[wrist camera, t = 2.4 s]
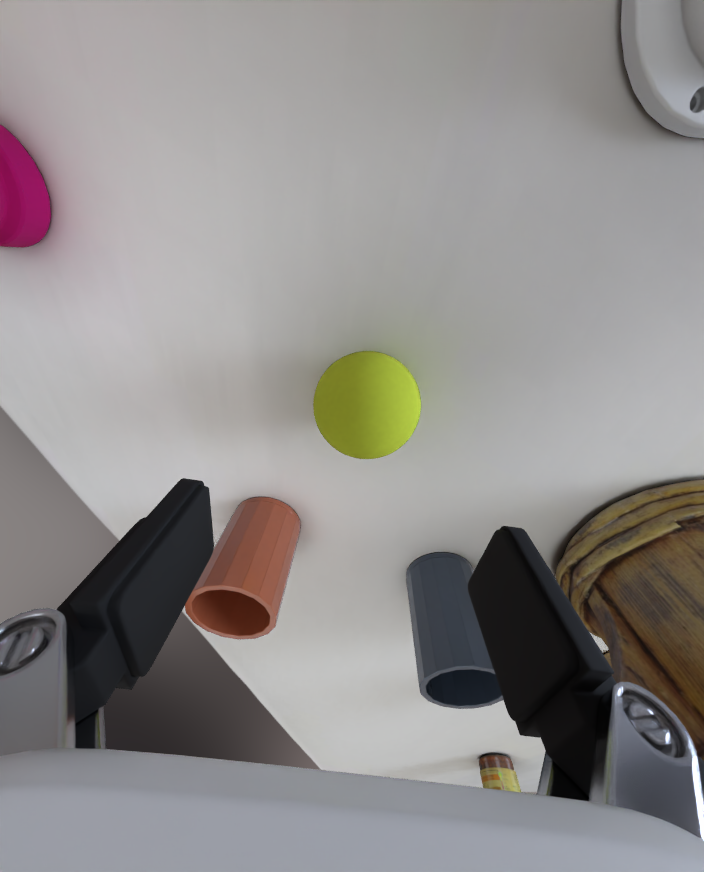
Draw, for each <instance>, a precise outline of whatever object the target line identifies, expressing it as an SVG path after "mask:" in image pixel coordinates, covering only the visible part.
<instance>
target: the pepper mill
mask: <svg viewBox="0 0 704 872" xmlns="http://www.w3.org/2000/svg"><path fill="white" fill-rule="evenodd" d="M50 219H51V210H50V199H49V195H48V192H47V189H46V186H45V183H44V180H43V178H42V176H41V174H40V172H39V170H38V168H37V166H36V164H35V162H34V161H33V159H32V158H31V157H30V155H29V154H28V153H27V151H26V150H25V149H24V147H23V146H22V144H21V143H20V142H19V141H18V140H17V139H16V138H15V137H14V136H13V135H12V134H11V133H10V132H9V131H8V130H7V129H6V128H4V127H3V126H2V125H0V246H5V247H29V246H32V245H34V244H36V243H38V242H39V241H40V240H41V239H42V238H43V237H44V236H45V234H46V232H47V230H48V228H49V224H50Z"/></svg>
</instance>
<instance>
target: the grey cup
mask: <svg viewBox="0 0 704 872" xmlns="http://www.w3.org/2000/svg"><path fill="white" fill-rule="evenodd" d="M473 572H474V571H473V568H472V566H471V564H470V563H469V562H468V561H467V560H466V559H465V558H463V557H461V556H459V555H456V554H452V553H445V552H439V553H431V554H427V555H424V556H422V557H420V558H418V559H416V560H415V561H414V562H413V563H412V564H411V565H410V566H409V568H408V570H407V573H406V581H407V589H408V597H409V606H410V614H411V622H412V631H413V639H414V647H415V656H416V664H417V672H418V681H419V688H420V693H421V695H422V696H424V697H425V698H426V699H427V700H428V701H430V702H432V703H435V704H437V705H440V706H444V707H451V708H458V709H464V708H479V707H484V706H489V705H492V704H495V703H497V702H499V701H501V700H504V699H503V696H502V693H501V690H500V687H499V684H498V681H497V678H496V675H495V672H494V669H493V666H492V663H491V660H490V657H489V654H488V651H487V647H486V644H485V641H484V638H483V635H482V632H481V629H480V626H479V623H478V620H477V617H476V614H475V611H474V608H473V605H472V602H471V599H470V596H469V592H468V582H469V579H470V578H471V576H472V574H473Z"/></svg>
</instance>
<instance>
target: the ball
mask: <svg viewBox="0 0 704 872" xmlns="http://www.w3.org/2000/svg"><path fill="white" fill-rule="evenodd" d="M313 407H314V416H315V420H316V423H317V426H318V428H319V430H320V432H321V434H322V435H323V437H324V438H325V439H326V440H327V442H328V443H329V444H330V445H331V446H333V447H334V448H335V449H336V450H338V451H339V452H341V453H343V454H345V455H348V456H351V457H354V458H360V459H374V458H380V457H383V456H386V455H388V454H391V453H393V452H394V451H396V450H397V449H399V448H400V447H401V446H402V445H404V444H405V443H406V442H407V441H408V439H409V438H410V437H411V435H412V434H413V432H414V430H415V428H416V426H417V424H418V421H419V417H420V410H421V399H420V393H419V389H418V386H417V383H416V381H415V379H414V378H413V376H412V375H411V373H410V372H409V370H408V369H407V368H406V367H405V366H404V365H403V364H401V363H400V362H399V361H398V360H396V359H394V358H393V357H390V356H388V355H386V354H383V353H379V352H373V351H362V352H356V353H352V354H349V355H347V356H344V357H342V358H341V359H339V360H337V361H336V362H334V363H333V364H332V365H331V366H330V367H329V368H328V369H327V370H326V371H325V373H324V374H323V375H322V377H321V379H320V380H319V382H318V385H317V387H316V391H315V395H314V403H313Z"/></svg>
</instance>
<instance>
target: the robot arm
mask: <svg viewBox="0 0 704 872" xmlns="http://www.w3.org/2000/svg"><path fill="white" fill-rule="evenodd" d="M621 37H622V46H623V55H624V64H625V67H626V70H627V73H628V76H629V79H630V82H631V85H632V88H633V91H634V93H635V95H636V96H637V98H638V99H639V101H640V103H641V104H642V106H643V107H644V109H645V111H646V112H647V113H648V114H649V115H650V116H651V117H652V118H654V119H655V120H656V121H657V122H658V123H659V124H661V125H662V126H663V127H664V128H666V129H669V130H671V131H673V132H676V133H678V134H681V135H683V136H686V137H696V138H704V0H622V11H621ZM213 549H214V541H213V529H212V518H211V506H210V495H209V488H208V487H206V486H204V483H203V481H198V480H191V479H184V478H183V479H181V480H180V481H179V482H178V483H177V484H176V485H175V486H174V487H173V488H172V489H171V491H170V492H169V493H168V494H167V495H166V496H165V497H164V498H163V499H162V501H161V502H160V503H159V504H158V505H157V506H156V507H155V508H154V509H153V511H152V512H151V513H150V514H149V515H148V516H147V517H146V518H143V519H140V520H139V521H138V522H137V523H136V524H135V525H134V526H133V527H132V528H131V529H130V530H129V531H128V532H127V534H126V535H125V536H124V537H123V538H122V539H121V540H120V541H119V542H118V543H117V544H116V546H115V547H114V548H113V549H112V550H111V551H110V552H109V553H108V554H107V555H106V556H105V557H104V559H103V560H102V561H101V562H100V563H99V564H98V565H97V566H96V567H95V568H94V569H93V570H92V572H91V573H90V574H89V575H88V576H87V577H86V578H85V579H84V580H83V581H82V582H81V584H80V585H79V586H78V587H77V588H76V589H75V590H74V591H73V592H72V593H71V594H70V595H69V597H68V598H67V599H66V600H65V601H64V602H63V603H62V604H61V605H60V606H59V607H58V608H57V610H54V609H50V608H43V609H34V610H31V611H27V612H24V613H20V614H18V615H16V616H14V617H12V618H10V619H7V620H5V621H4V622H2V623H1V624H0V872H704V760H703V759H701V758H700V757H699V756H698V755H697V753H696V749H695V746H694V743H693V741H692V739H691V737H690V735H689V733H688V732H687V730H686V728H685V727H684V725H683V724H682V723H681V721H680V720H679V719H678V718H677V716H676V715H675V714H674V713H673V712H672V711H671V710H670V709H669V708H668V707H667V706H666V705H665V704H664V703H663V702H662V701H661V700H660V699H658V698H657V697H656V696H655V695H653V694H652V693H651V692H649V691H648V690H646V689H644V688H642V687H641V686H639V685H636V684H633V683H631V682H619V683H616V681H615V680H614V678H613V676H612V675H613V674H614V671H613V669H612V668H611V666H610V665H609V663H608V661H607V660H606V658H605V657H604V655H603V653H602V652H601V650H600V649H599V647H598V646H597V644H596V642H595V641H594V639H593V638H592V636H591V634H590V633H589V631H588V630H587V628H586V626H585V625H584V623H583V622H582V620H581V619H580V617H579V615H578V614H577V612H576V611H575V609H574V607H573V606H572V604H571V603H570V601H569V600H568V598H567V596H566V595H565V593H564V592H563V590H562V588H561V587H560V585H559V584H558V582H557V580H556V579H555V577H554V576H553V574H552V573H551V571H550V569H549V568H548V566H547V565H546V563H545V561H544V560H543V558H542V557H541V555H540V553H539V552H538V550H537V549H536V547H535V546H534V544H533V542H532V541H531V539H530V538H529V536H528V534H527V533H526V532H525V530H523V529H522V528H515V527H508V526H503V527H501V529H500V530H496V531H495V533H494V535H493V537H492V538H491V540H490V542H489V544H488V546H487V548H486V550H485V551H484V553H483V555H482V557H481V559H480V561H479V563H478V565H477V566H476V568H475V570H474V572H473V574H472V576H471V578H470V579H469V582H468V592H469V596H470V599H471V602H472V605H473V608H474V611H475V614H476V617H477V620H478V623H479V626H480V629H481V632H482V635H483V638H484V641H485V644H486V647H487V651H488V654H489V657H490V660H491V663H492V666H493V669H494V672H495V675H496V678H497V681H498V684H499V687H500V690H501V693H502V696H503V699H504V702H505V705H506V708H507V711H508V714H509V715H510V717H511V718H512V720H514V721H515V722H516V724H517V727H518V730H519V733H520V735H523V736H531V737H541V739H542V742H543V744H544V747H545V750H546V752H545V757H544V762H543V767H542V771H541V776H540V781H539V786H538V790H537V794H531V793H523V792H514V791H505V790H497V789H488V788H479V787H470V786H462V785H453V784H444V783H435V782H426V781H417V780H408V779H399V778H390V777H381V776H372V775H362V774H353V773H344V772H335V771H325V770H316V769H307V768H298V767H288V766H278V765H268V764H259V763H249V762H239V761H230V760H220V759H211V758H200V757H191V756H181V755H169V754H157V753H145V752H133V751H120V750H108V749H106V740H105V724H104V710H103V706H104V705H105V704H106V703H107V701H108V699H109V698H110V696H111V694H112V693H113V691H114V690H115V688H121V689H130V690H132V688H133V686H134V685H135V683H136V681H137V679H138V678H139V676H145V675H146V674H147V672H148V671H149V670H150V668H151V666H152V664H153V663H154V661H155V659H156V657H157V655H158V653H159V652H160V650H161V648H162V646H163V644H164V642H165V641H166V639H167V637H168V635H169V633H170V631H171V629H172V628H173V626H174V624H175V622H176V620H177V619H178V617H179V615H180V613H181V611H182V609H183V608H184V606H185V604H186V602H187V600H188V598H189V596H190V595H191V593H192V591H193V589H194V587H195V585H196V584H197V582H198V580H199V578H200V576H201V574H202V573H203V571H204V569H205V567H206V565H207V563H208V562H209V560H210V558H211V556H212V553H213Z"/></svg>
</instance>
